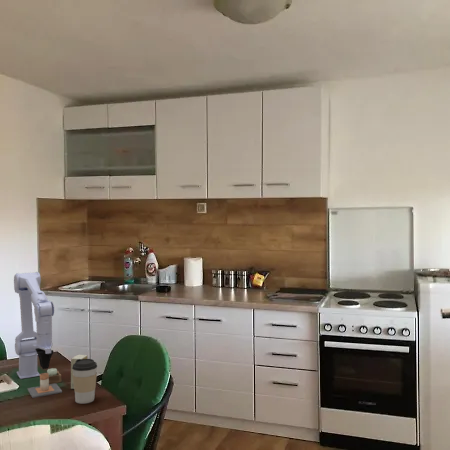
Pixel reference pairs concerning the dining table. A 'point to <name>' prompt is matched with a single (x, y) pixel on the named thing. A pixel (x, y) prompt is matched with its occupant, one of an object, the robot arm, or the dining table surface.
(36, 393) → the grey square plate
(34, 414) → the dining table surface
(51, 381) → the button housing
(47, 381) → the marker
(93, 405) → the dining table surface
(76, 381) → the coffee cup
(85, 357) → the skincare box
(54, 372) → the button
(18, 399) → the dining table surface
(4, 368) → the dining table surface
